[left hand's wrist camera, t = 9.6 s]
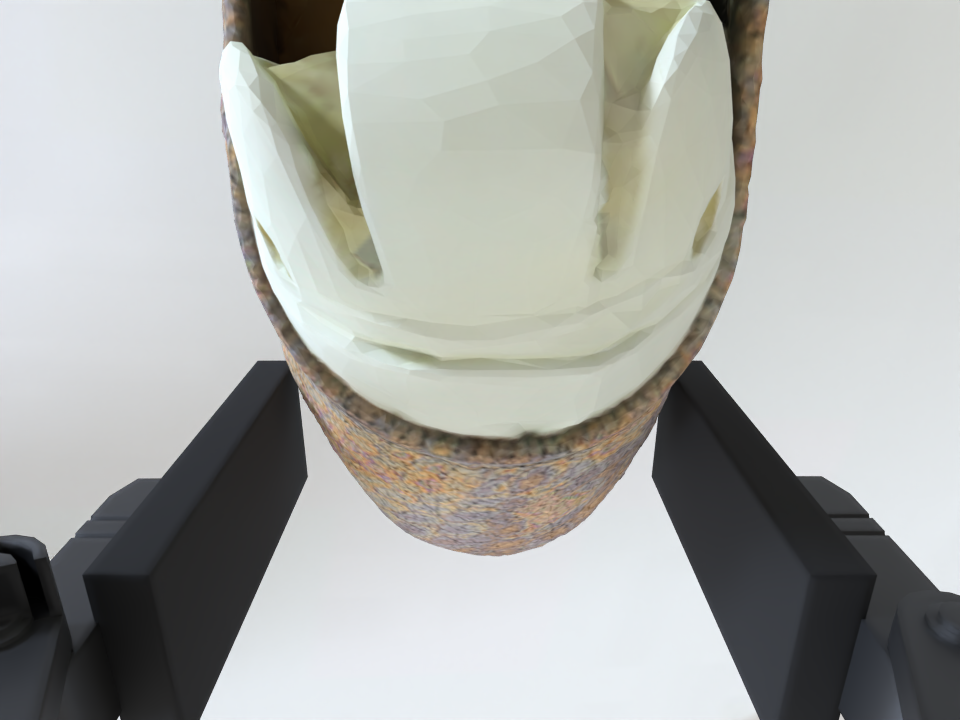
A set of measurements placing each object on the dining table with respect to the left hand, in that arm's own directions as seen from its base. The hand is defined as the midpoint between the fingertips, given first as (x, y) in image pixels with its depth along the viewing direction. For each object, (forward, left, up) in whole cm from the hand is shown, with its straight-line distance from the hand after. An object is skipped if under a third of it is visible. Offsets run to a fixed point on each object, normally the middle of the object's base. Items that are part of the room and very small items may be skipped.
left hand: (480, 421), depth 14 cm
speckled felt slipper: (+8, +5, -1) cm, 9 cm away
